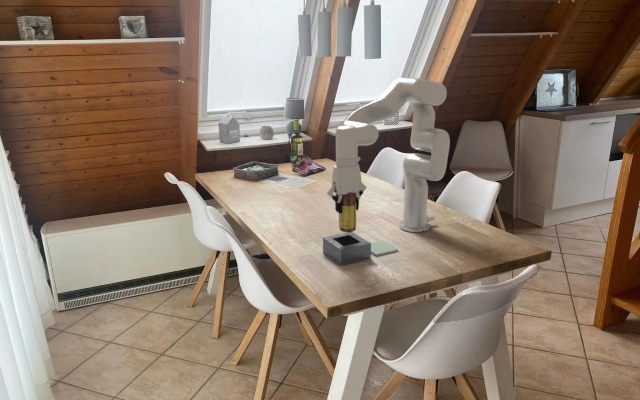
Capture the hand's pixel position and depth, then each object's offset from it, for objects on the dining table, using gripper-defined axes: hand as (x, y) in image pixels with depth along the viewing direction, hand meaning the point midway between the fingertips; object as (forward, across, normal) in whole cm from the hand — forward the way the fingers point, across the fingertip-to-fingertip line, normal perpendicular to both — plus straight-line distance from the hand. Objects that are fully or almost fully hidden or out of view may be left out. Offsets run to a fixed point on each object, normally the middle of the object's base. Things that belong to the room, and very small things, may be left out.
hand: (347, 210), depth 175 cm
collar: (+17, +1, 0) cm, 17 cm away
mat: (+18, -13, +1) cm, 22 cm away
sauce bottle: (+8, 0, 0) cm, 8 cm away
